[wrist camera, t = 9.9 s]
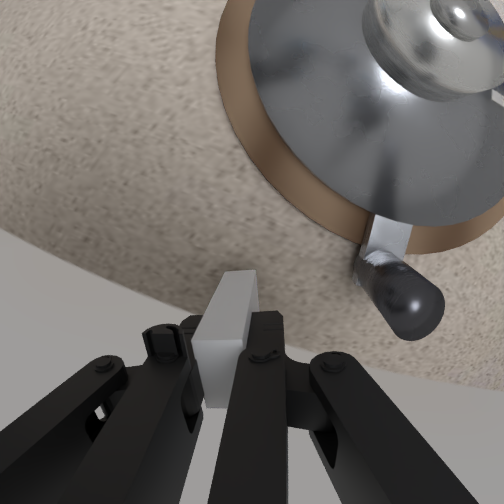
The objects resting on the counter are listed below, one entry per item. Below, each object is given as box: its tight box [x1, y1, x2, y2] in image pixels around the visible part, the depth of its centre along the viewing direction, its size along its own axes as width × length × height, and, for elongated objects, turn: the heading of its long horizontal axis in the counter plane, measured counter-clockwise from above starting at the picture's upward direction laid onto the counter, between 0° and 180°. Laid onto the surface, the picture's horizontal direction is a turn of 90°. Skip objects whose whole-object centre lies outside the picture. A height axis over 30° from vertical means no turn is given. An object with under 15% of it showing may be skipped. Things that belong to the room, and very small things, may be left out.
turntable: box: [248, 0, 504, 341], centre depth 11 cm, size 20×24×6 cm
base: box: [215, 0, 504, 254], centre depth 14 cm, size 24×24×1 cm
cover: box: [362, 0, 504, 102], centre depth 10 cm, size 8×8×5 cm
